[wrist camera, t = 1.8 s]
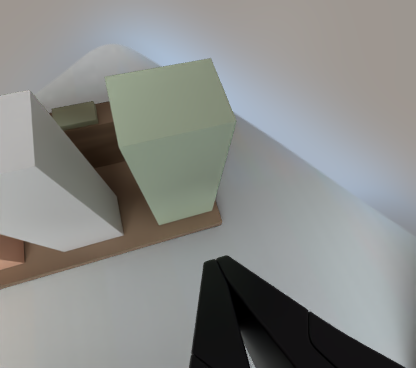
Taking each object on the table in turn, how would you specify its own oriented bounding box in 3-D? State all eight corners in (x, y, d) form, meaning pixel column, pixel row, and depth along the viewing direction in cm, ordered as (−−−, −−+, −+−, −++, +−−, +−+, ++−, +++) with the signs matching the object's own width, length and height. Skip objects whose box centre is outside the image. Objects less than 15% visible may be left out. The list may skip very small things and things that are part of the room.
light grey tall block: (123, 235, 18) (34, 166, 8) (64, 251, 17) (-121, 200, 7) (116, 196, 19) (30, 89, 9) (60, 210, 18) (-106, 113, 8)
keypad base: (220, 224, 20) (233, 198, 14) (-39, 300, 17) (-165, 307, 11) (191, 134, 23) (191, 79, 17) (-34, 184, 20) (-131, 140, 14)
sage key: (212, 210, 19) (236, 121, 9) (159, 225, 18) (118, 147, 8) (200, 175, 20) (210, 58, 10) (150, 187, 19) (104, 77, 9)
